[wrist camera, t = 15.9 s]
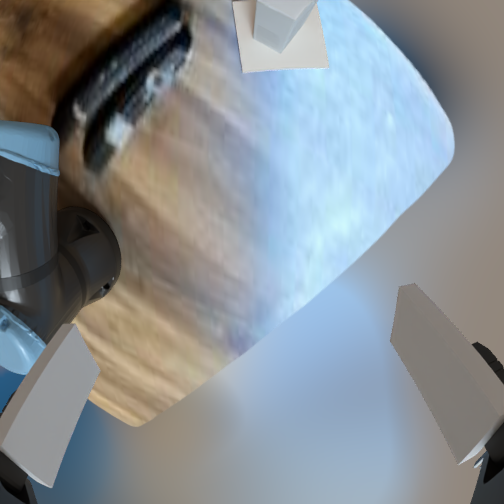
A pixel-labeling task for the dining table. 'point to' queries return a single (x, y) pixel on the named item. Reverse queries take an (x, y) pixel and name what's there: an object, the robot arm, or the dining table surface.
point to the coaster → (296, 52)
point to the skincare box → (280, 21)
